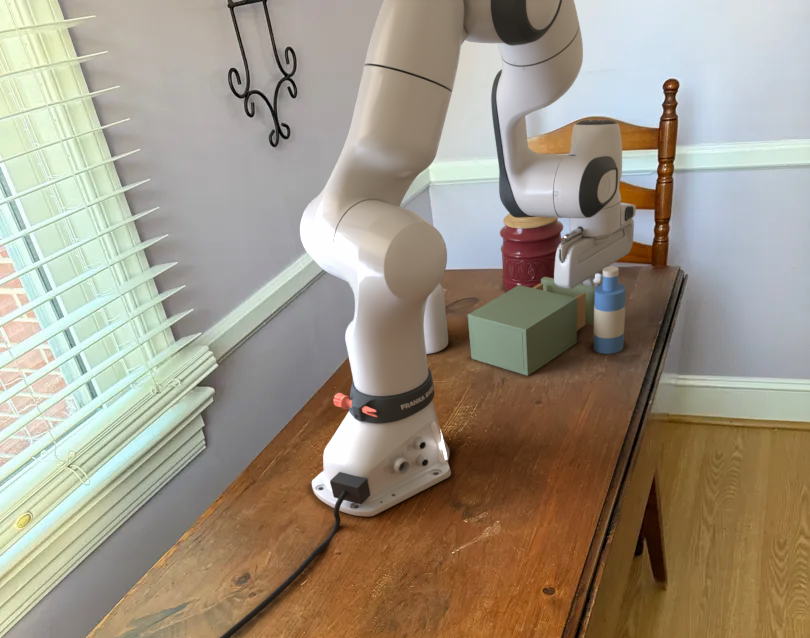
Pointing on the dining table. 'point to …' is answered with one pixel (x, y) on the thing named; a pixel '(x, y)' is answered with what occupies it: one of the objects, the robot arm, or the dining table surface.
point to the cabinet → (523, 329)
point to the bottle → (609, 313)
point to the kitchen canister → (529, 249)
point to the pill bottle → (435, 322)
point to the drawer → (580, 292)
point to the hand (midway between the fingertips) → (593, 293)
